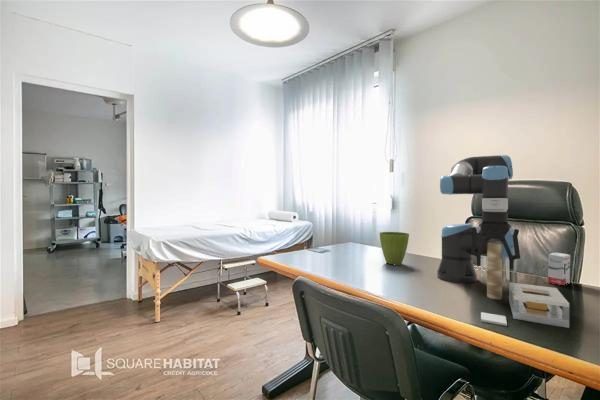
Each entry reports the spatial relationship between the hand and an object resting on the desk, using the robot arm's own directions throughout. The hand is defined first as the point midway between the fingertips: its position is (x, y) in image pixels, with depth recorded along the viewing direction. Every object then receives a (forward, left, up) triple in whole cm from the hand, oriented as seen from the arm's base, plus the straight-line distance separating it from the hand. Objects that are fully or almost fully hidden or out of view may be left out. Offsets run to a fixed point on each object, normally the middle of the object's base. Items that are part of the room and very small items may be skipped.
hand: (494, 277), depth 104 cm
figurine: (-3, +48, -7) cm, 49 cm away
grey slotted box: (+10, -11, -7) cm, 16 cm away
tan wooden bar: (0, 0, -7) cm, 7 cm away
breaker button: (+10, -11, -5) cm, 16 cm away
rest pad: (-1, -23, -7) cm, 24 cm away
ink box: (+23, +34, -7) cm, 42 cm away
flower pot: (-43, +36, -7) cm, 57 cm away
